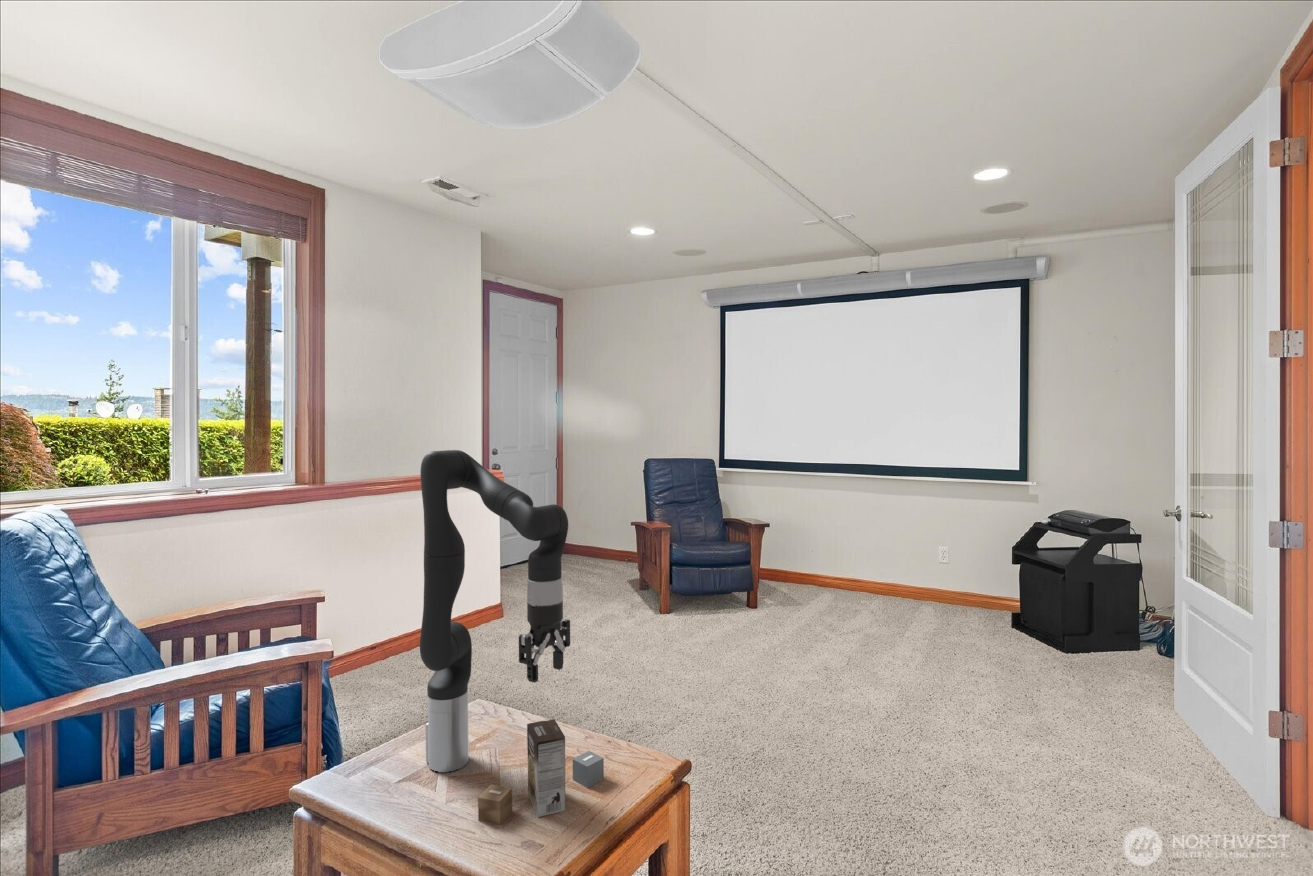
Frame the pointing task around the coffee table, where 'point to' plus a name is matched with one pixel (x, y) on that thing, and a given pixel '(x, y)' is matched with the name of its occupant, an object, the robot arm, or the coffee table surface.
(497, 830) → the coffee table surface
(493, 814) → the walnut block
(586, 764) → the slate block
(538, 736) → the coffee box
